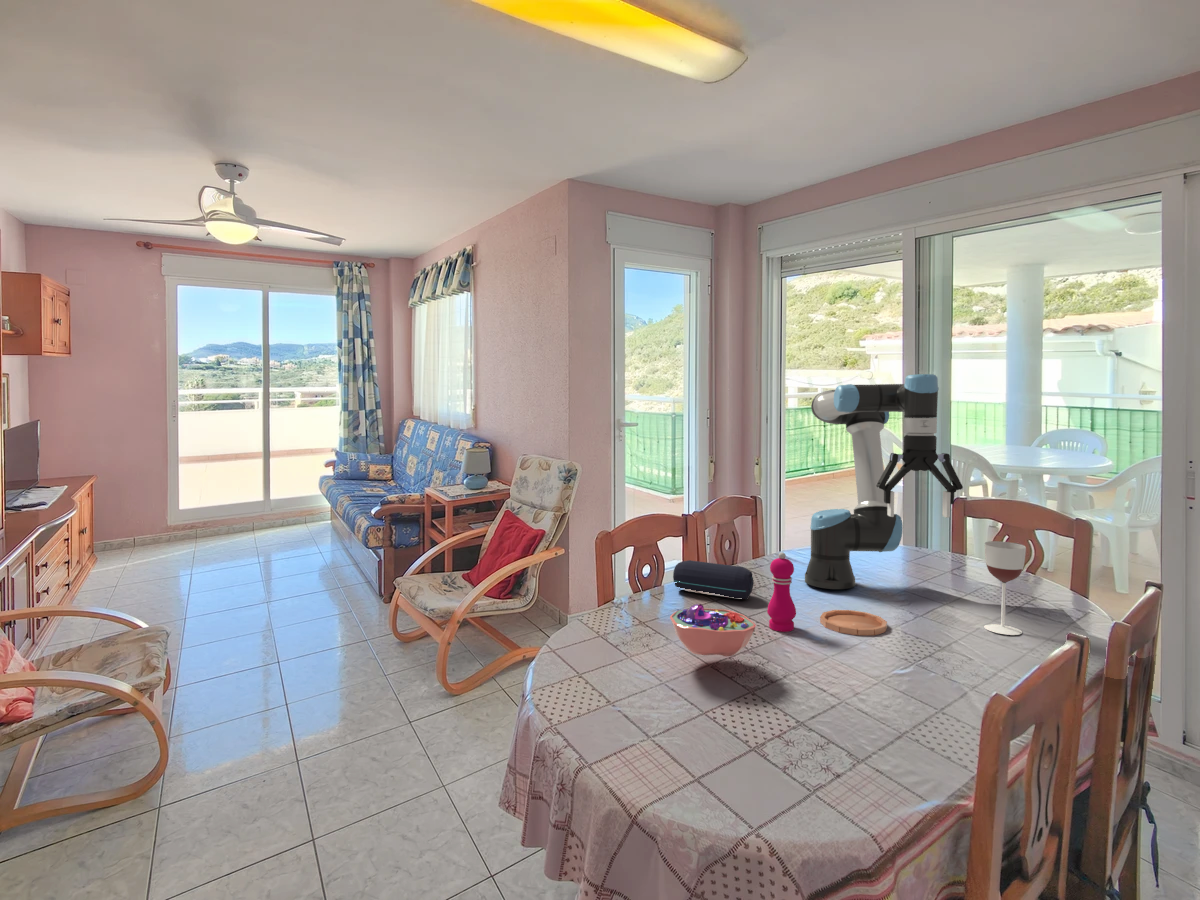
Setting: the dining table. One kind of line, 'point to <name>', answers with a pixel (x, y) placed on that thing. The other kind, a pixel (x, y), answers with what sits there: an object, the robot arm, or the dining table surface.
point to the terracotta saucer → (853, 622)
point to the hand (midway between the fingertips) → (918, 516)
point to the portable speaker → (714, 578)
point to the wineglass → (1004, 574)
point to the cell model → (712, 630)
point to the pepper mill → (781, 595)
